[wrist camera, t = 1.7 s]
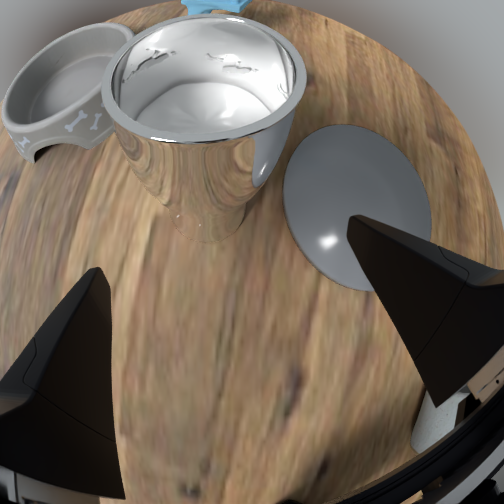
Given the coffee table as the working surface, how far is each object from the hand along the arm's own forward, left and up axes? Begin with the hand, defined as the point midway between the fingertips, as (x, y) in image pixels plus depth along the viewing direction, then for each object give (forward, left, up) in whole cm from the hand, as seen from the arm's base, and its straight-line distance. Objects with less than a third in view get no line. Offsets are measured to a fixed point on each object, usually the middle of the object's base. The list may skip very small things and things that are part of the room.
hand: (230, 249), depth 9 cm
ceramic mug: (-28, -4, -12) cm, 31 cm away
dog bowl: (+25, -3, -12) cm, 29 cm away
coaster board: (-6, -13, -12) cm, 19 cm away
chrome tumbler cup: (+4, -3, -12) cm, 13 cm away
